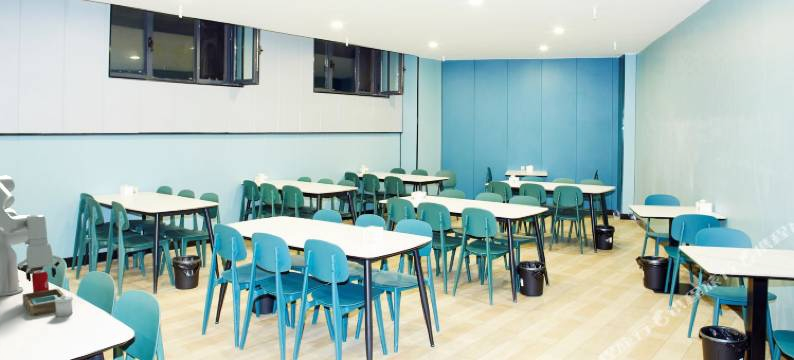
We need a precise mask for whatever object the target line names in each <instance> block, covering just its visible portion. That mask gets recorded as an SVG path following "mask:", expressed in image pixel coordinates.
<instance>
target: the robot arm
mask: <svg viewBox="0 0 794 360" xmlns="http://www.w3.org/2000/svg"><path fill="white" fill-rule="evenodd" d="M15 186H16V185H15V181H14V180H13V179H12V178H11V176H8V175H0V297H5V296H12V295H16V294H19V293H22V292H23V291H24V288H23V287H22V286H20V284H19V283H20V280H19V270H18V267H19V269H20V270H21V271H23V272H25V277H26V280H28V282H32V279H31V278H32V275H31V272H30V271H31V270H32V269H38V268H44V267H51V276H52V277H53V278H56V276H57V270H56V269H57V267H58V266H59V265H60V263H61V261H62V257H60V256H57V255H54V254H53V250H52V249H53V248H52V246H51V244H50V243H49V241H48V233H47V221H46V220H47V219H46V216H45V215H44V214H32V213H26V214H21V215H20V214H18V212H16V211H15V210H14V209H12V208H10V207H12V205H13V204H14V202H15V196H14V195H13V194H12V193H11V192H13V191H14V189H15ZM20 244H24V245H27V246H26V259H24V260H22V261H20V262H18V256H17V252H16V251H15V250H14V248H13V246H14V245H20ZM54 260H56V262H55V263H54ZM25 264H26V268H25V267H24V265H25Z"/></svg>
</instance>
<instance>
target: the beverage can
mask: <svg viewBox="0 0 794 360" xmlns="http://www.w3.org/2000/svg"><path fill="white" fill-rule="evenodd" d="M31 278H32V279H31V282H32V290H33V292H32V293H34V292H40V291H46V290H50V286H49V273H48V272H47V270H46V269H38V270H34V271H32V275H31Z"/></svg>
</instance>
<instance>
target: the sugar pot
mask: <svg viewBox="0 0 794 360" xmlns="http://www.w3.org/2000/svg"><path fill="white" fill-rule="evenodd" d="M54 302H55V305H56V312H55V316H56V317H58V318H64V317H68V316H72V315H73V296H70V295H68V296H66V295H65V294H64V295H62V296H61V297H59V298H56V299H54Z"/></svg>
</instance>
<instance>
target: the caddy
mask: <svg viewBox="0 0 794 360" xmlns="http://www.w3.org/2000/svg"><path fill="white" fill-rule="evenodd" d="M52 295H57V296H58V297H61V296H62V295H65V294H64V293H63V292H62V290H60V288H54V289H49V290H46V291H40V292H34V293H33V292H30V293H24V294H22V305H23V306H24V307H25V309H26V311H27V312H28V313H29V316H30V317H35V316H36V317H37V316H41V315H47V314H52V313H53V314H54V313H56V305H55V302H54V301H52V302H46V303H40V304H35V305H33V304H32V303H31V301H30V299H34V298H40V297H46V296H52Z"/></svg>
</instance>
